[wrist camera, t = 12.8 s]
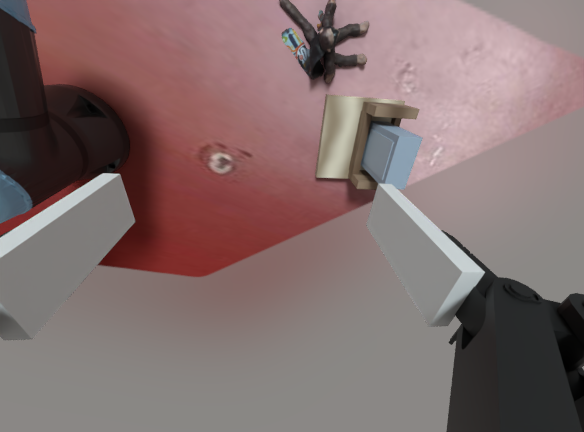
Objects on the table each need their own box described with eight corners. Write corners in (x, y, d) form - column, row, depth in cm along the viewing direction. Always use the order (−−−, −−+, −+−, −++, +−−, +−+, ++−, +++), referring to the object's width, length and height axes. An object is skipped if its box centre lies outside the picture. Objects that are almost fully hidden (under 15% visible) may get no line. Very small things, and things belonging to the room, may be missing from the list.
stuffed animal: (361, 87, 41) (310, 82, 34) (321, 80, 47) (271, 75, 40) (382, -4, 34) (326, -33, 27) (333, 2, 40) (276, -21, 33)
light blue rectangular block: (368, 120, 43) (398, 136, 33) (387, 121, 43) (423, 137, 33) (358, 162, 47) (382, 188, 37) (376, 163, 48) (404, 189, 37)
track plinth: (315, 174, 49) (321, 190, 43) (325, 94, 42) (336, 99, 35) (378, 177, 51) (394, 192, 45) (401, 100, 43) (423, 105, 37)
